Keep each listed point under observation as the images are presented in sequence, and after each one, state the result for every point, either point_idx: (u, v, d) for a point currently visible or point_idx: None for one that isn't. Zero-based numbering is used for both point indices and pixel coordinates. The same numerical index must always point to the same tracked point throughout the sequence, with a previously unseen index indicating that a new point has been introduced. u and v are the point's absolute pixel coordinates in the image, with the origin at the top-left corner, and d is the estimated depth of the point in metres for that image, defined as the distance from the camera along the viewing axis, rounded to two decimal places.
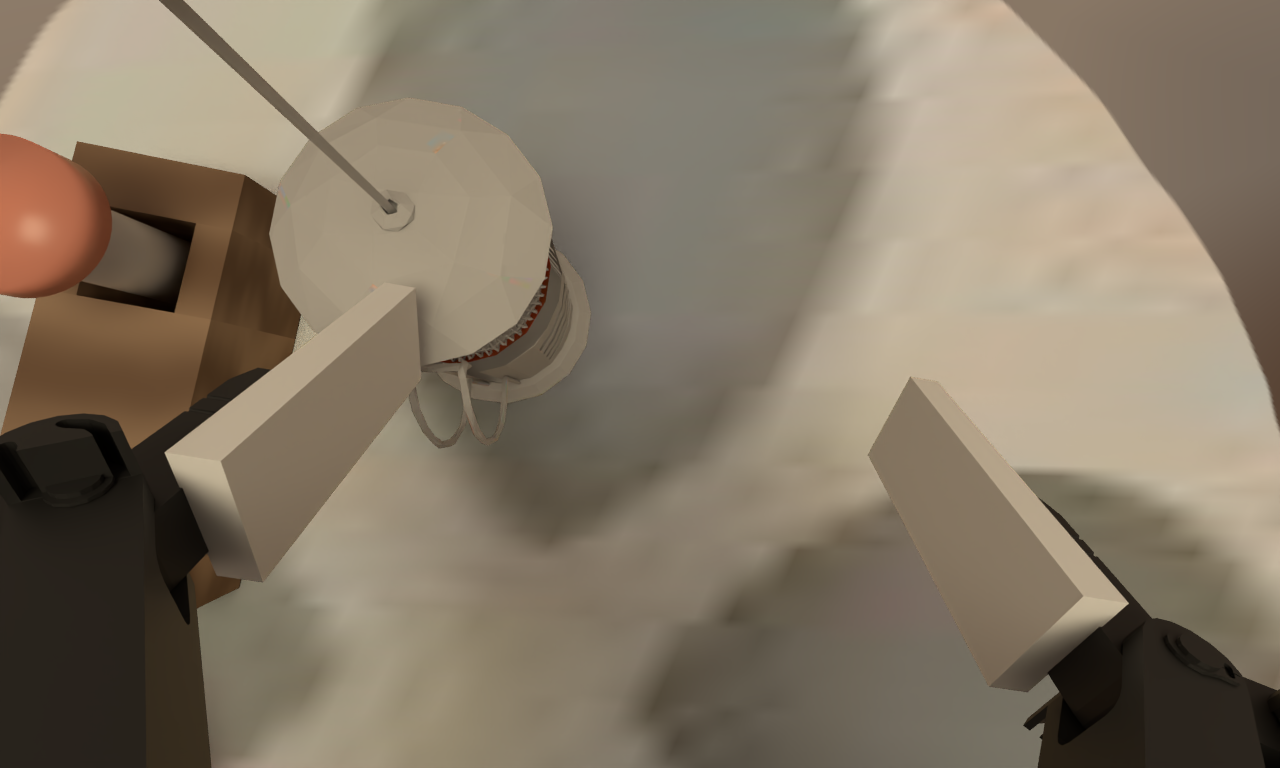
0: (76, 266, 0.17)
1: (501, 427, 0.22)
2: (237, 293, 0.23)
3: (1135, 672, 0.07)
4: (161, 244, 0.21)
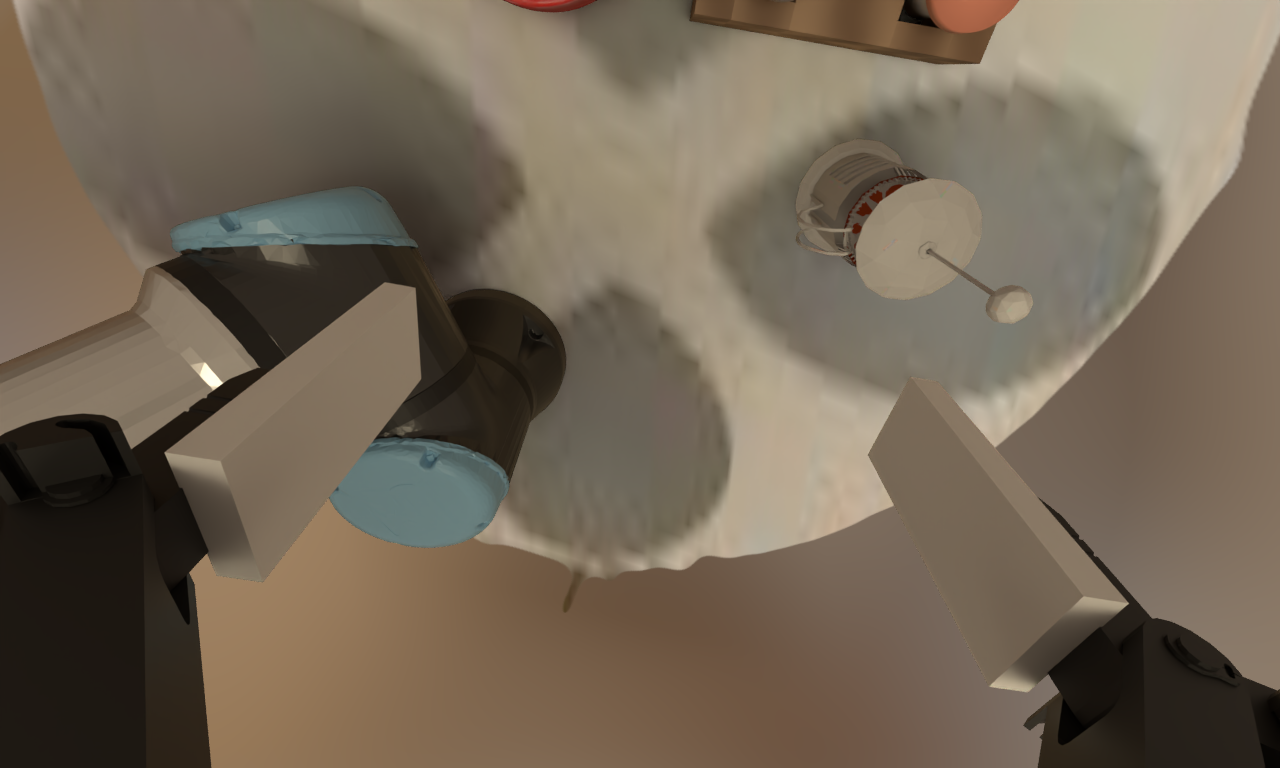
0: (939, 23, 0.30)
1: (799, 235, 0.41)
2: (901, 51, 0.36)
3: (1135, 672, 0.07)
4: None
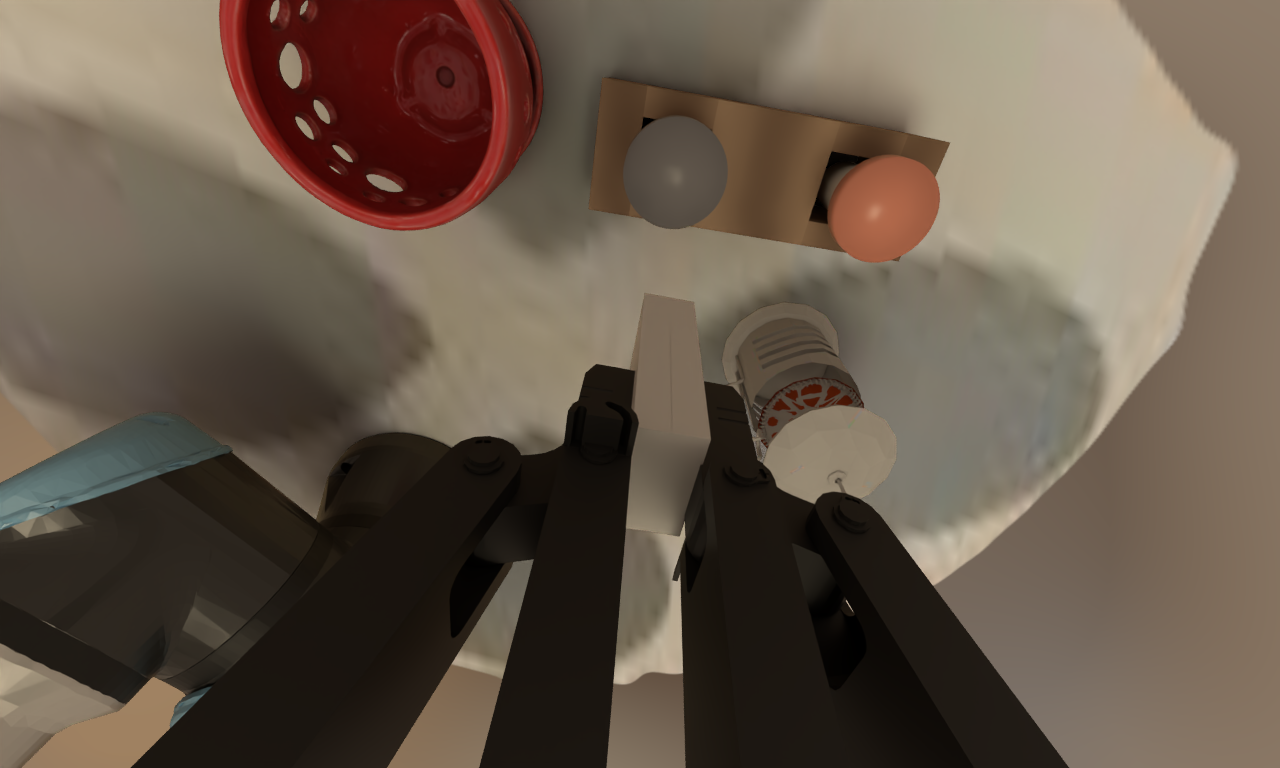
0: (843, 249, 0.28)
1: None
2: None
3: (710, 512, 0.08)
4: None
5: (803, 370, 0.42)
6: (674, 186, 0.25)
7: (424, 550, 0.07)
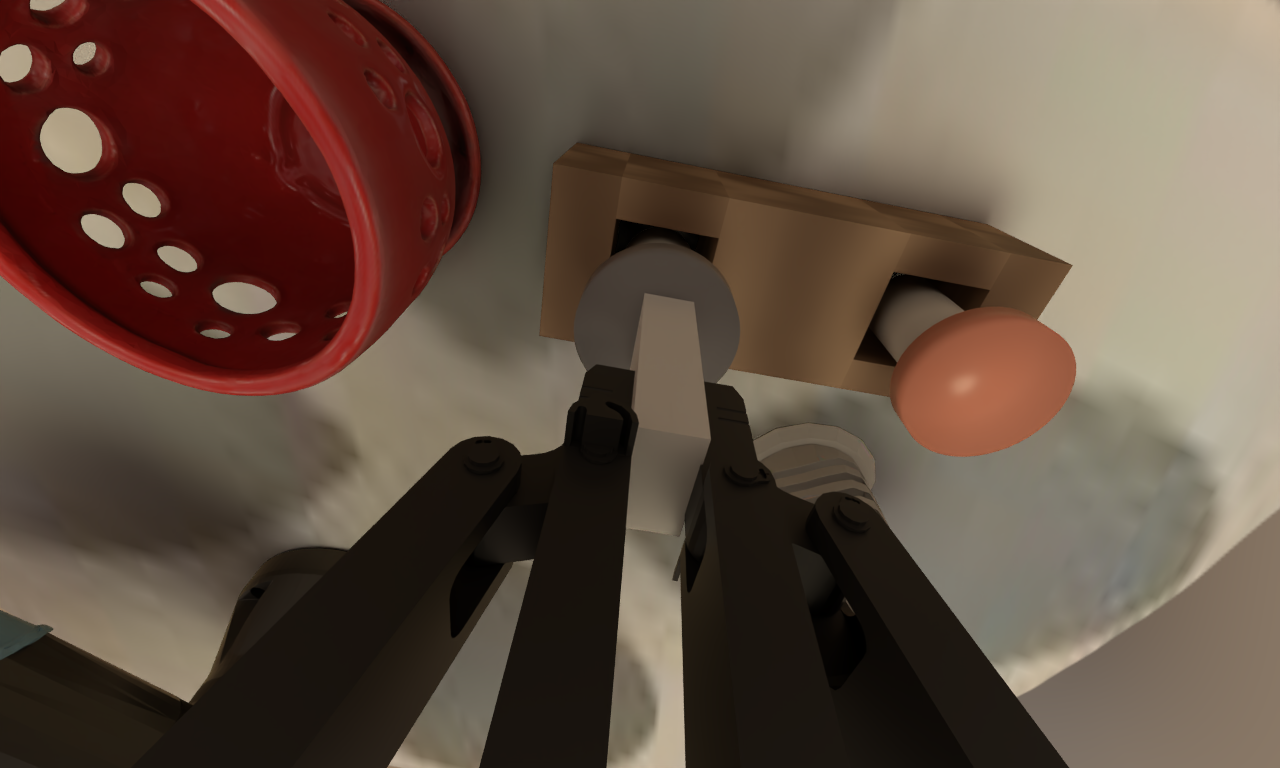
0: None
1: None
2: None
3: (711, 512, 0.08)
4: None
5: None
6: None
7: (424, 550, 0.07)
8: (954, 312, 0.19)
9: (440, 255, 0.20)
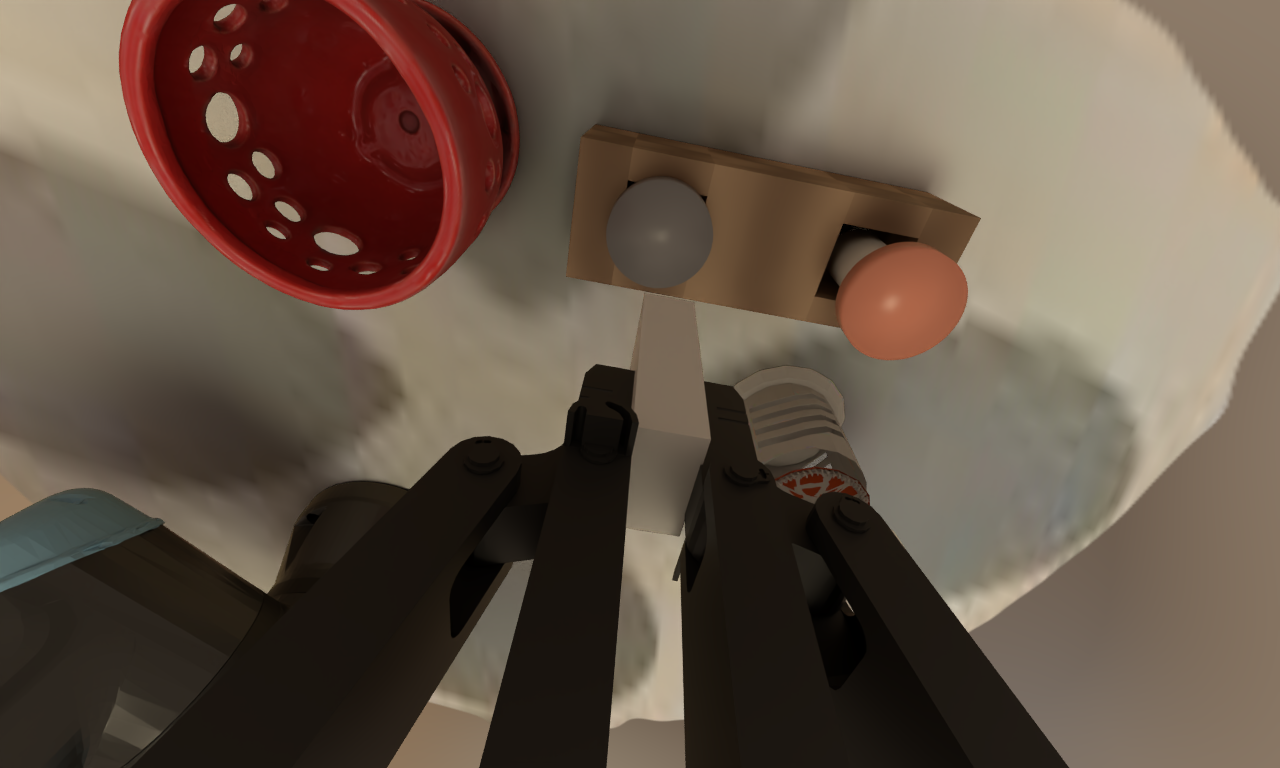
0: None
1: None
2: None
3: (710, 512, 0.08)
4: None
5: None
6: (658, 247, 0.25)
7: (424, 550, 0.07)
8: None
9: (490, 210, 0.26)
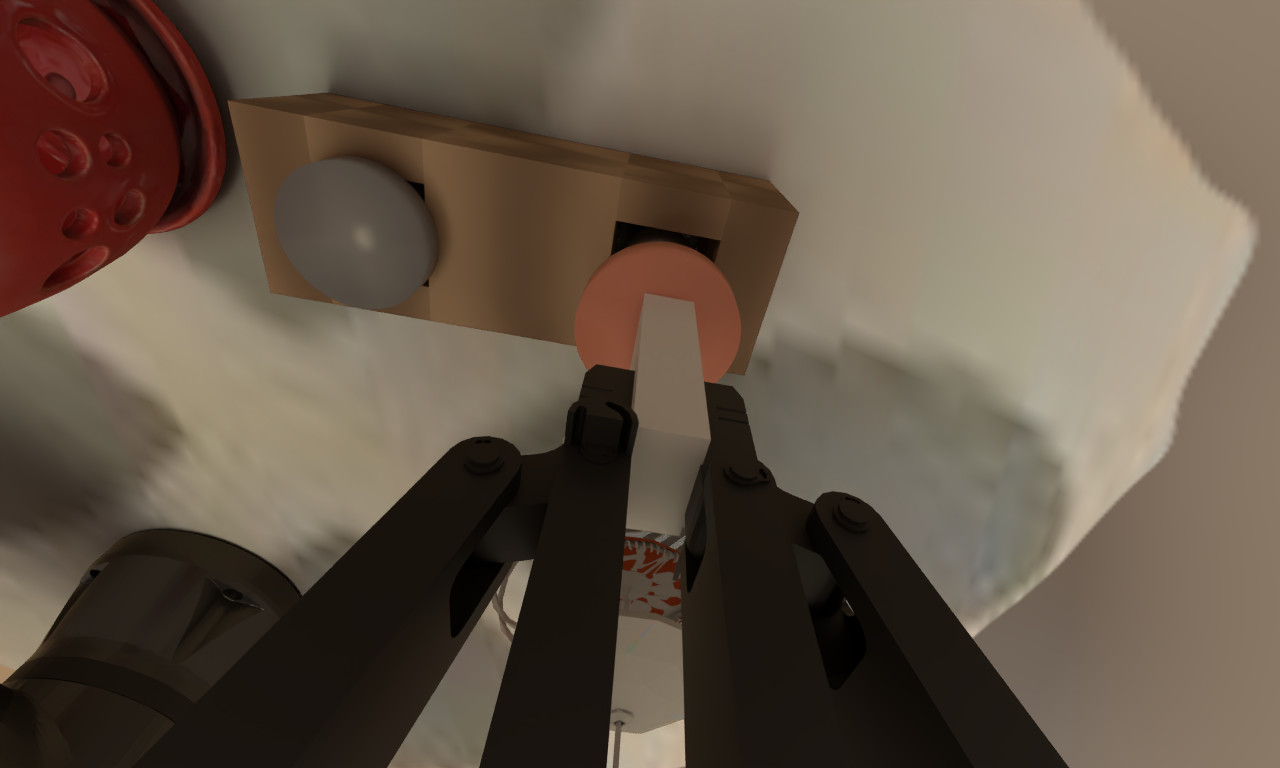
0: None
1: None
2: None
3: (710, 512, 0.08)
4: None
5: None
6: (354, 254, 0.18)
7: (424, 550, 0.07)
8: None
9: (142, 204, 0.19)
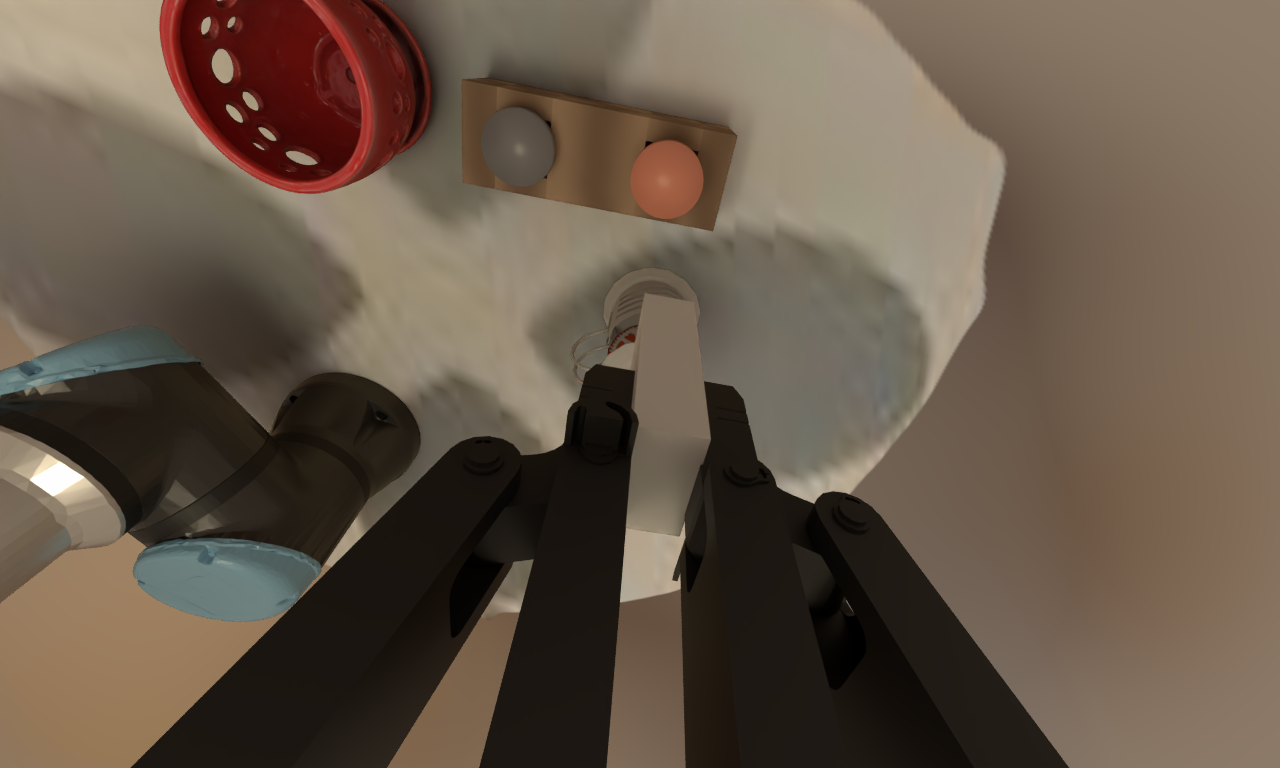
0: None
1: (583, 357, 0.46)
2: None
3: (711, 512, 0.08)
4: None
5: None
6: (517, 156, 0.37)
7: (424, 550, 0.07)
8: None
9: (406, 133, 0.38)
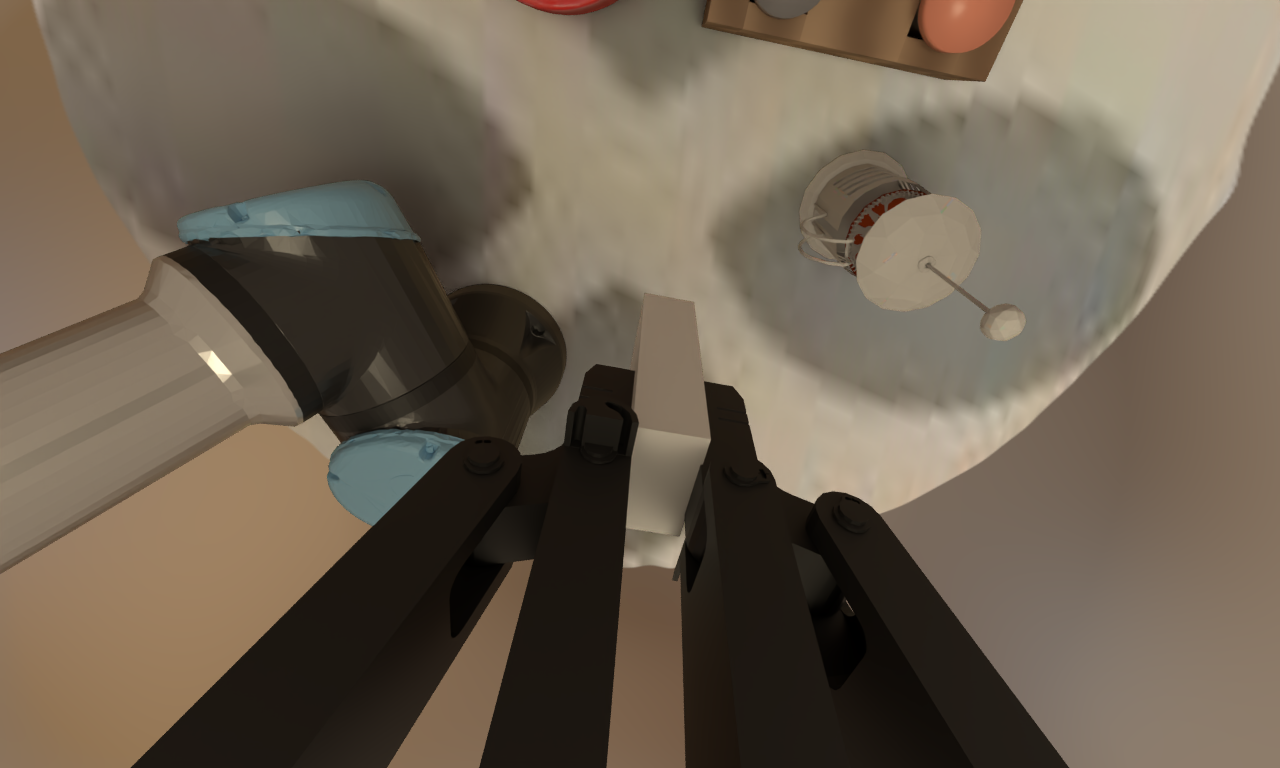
0: (929, 42, 0.33)
1: (801, 244, 0.41)
2: (909, 66, 0.36)
3: (710, 512, 0.08)
4: None
5: None
6: None
7: (424, 550, 0.07)
8: None
9: None
